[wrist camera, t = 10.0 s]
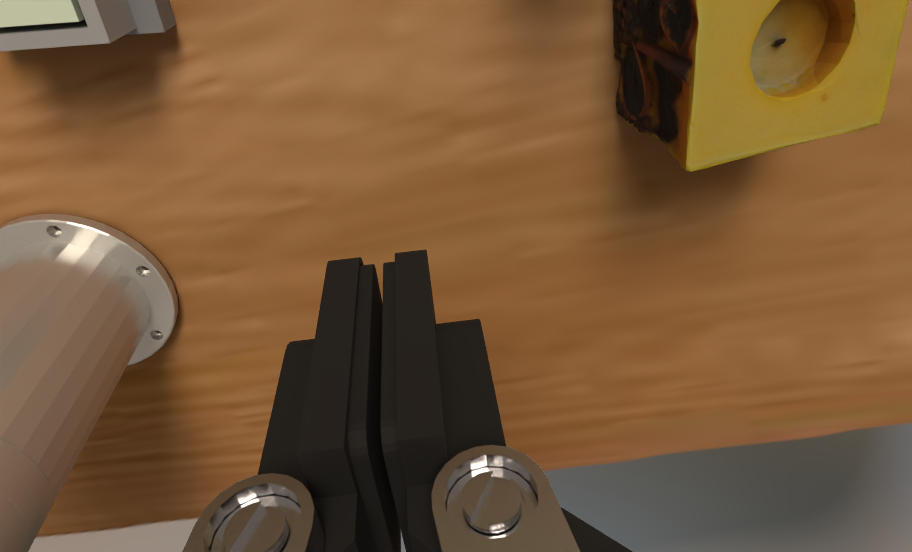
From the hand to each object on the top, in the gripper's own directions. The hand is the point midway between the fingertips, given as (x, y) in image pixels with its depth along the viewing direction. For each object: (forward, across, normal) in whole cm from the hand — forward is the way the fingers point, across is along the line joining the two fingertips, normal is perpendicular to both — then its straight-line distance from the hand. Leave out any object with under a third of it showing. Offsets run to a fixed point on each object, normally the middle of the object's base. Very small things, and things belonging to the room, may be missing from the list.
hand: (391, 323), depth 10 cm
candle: (+28, -18, +2) cm, 33 cm away
